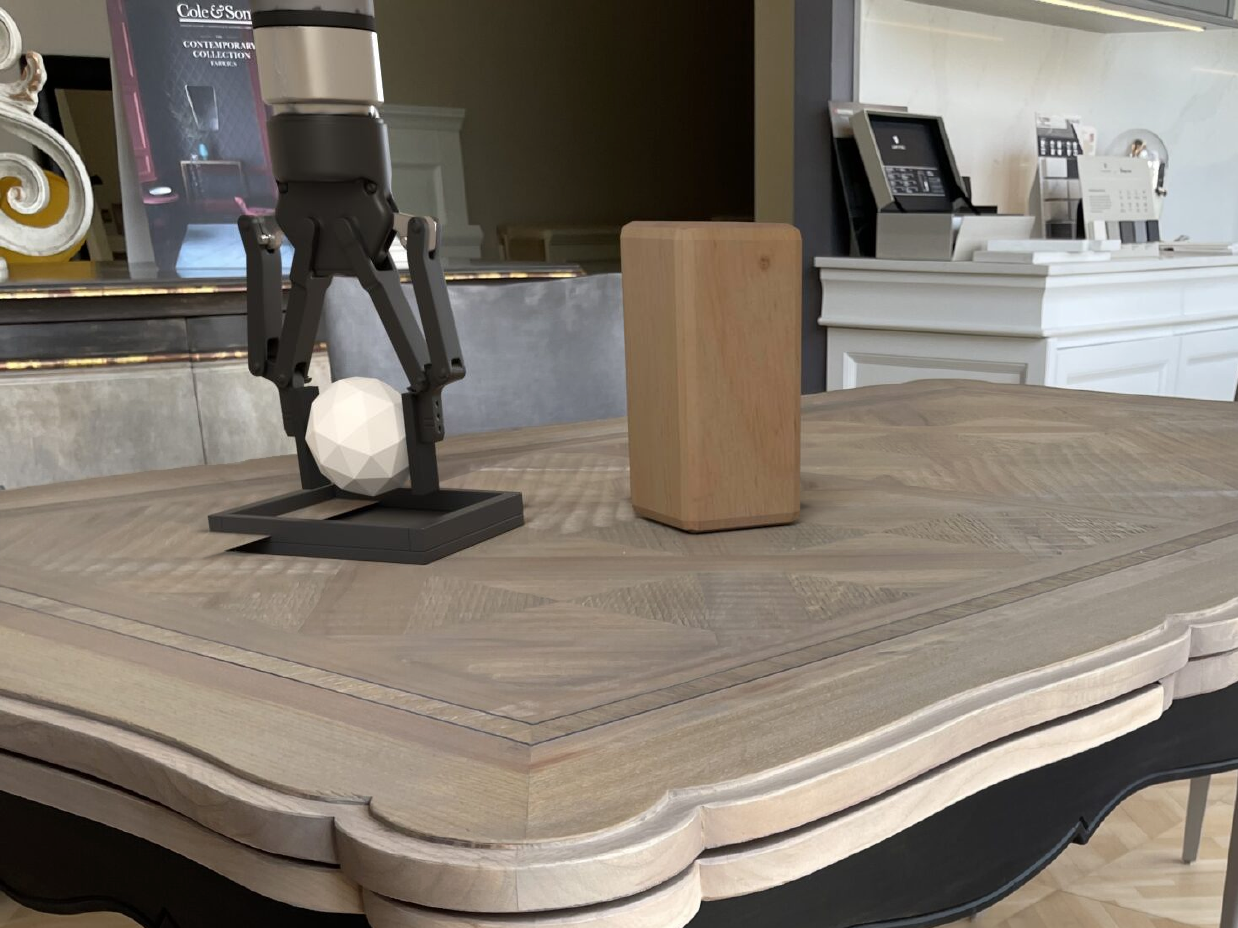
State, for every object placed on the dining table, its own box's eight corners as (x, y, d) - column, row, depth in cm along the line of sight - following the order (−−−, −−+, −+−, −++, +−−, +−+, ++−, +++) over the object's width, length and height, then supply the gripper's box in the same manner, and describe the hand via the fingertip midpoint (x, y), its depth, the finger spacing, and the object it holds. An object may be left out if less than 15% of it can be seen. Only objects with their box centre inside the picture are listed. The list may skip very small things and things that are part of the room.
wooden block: (805, 524, 119) (808, 223, 110) (688, 536, 115) (680, 222, 105) (739, 505, 127) (736, 221, 117) (626, 515, 122) (613, 220, 112)
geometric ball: (390, 528, 115) (435, 428, 115) (395, 503, 108) (443, 396, 108) (289, 474, 113) (335, 373, 113) (287, 445, 105) (336, 336, 105)
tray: (212, 550, 108) (206, 515, 107) (332, 512, 122) (328, 481, 121) (425, 564, 105) (421, 528, 104) (524, 524, 118) (522, 491, 117)
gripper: (499, 114, 102) (528, 488, 113) (216, 116, 106) (270, 475, 117) (446, 108, 95) (482, 505, 106) (147, 110, 100) (211, 490, 111)
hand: (371, 489), depth 112 cm, fingers closed on geometric ball, 8 cm apart
